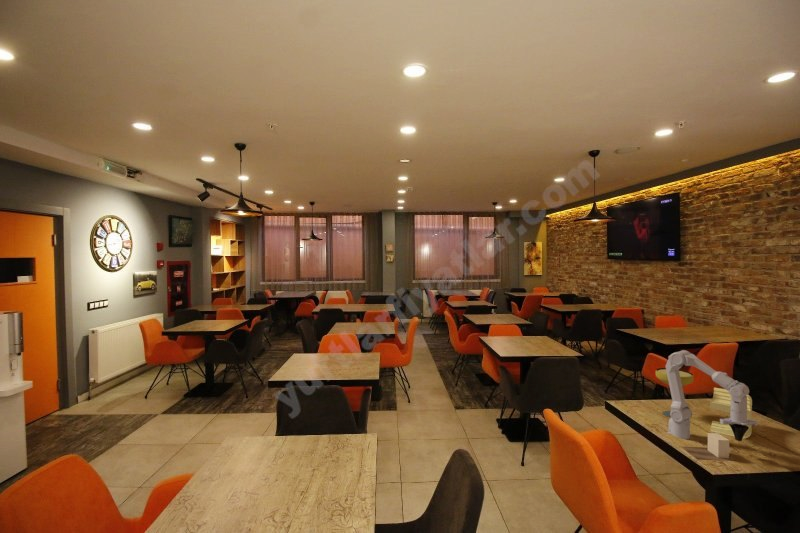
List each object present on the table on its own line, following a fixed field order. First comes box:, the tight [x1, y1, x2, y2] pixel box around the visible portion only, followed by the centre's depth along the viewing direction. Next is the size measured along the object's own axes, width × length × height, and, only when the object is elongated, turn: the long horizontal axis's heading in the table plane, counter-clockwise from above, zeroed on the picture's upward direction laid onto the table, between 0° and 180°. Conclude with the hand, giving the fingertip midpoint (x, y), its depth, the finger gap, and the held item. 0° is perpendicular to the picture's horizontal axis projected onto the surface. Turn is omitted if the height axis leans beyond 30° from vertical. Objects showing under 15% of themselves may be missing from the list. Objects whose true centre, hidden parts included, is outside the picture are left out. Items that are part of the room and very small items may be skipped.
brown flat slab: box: [681, 446, 736, 462], centre depth 179 cm, size 12×16×2 cm
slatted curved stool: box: [709, 387, 753, 440], centre depth 205 cm, size 30×16×18 cm, turn 138°
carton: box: [707, 432, 730, 458], centre depth 179 cm, size 7×4×8 cm, turn 174°
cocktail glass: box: [655, 367, 695, 418], centre depth 226 cm, size 18×18×25 cm
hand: (738, 440), depth 178 cm, fingers closed
